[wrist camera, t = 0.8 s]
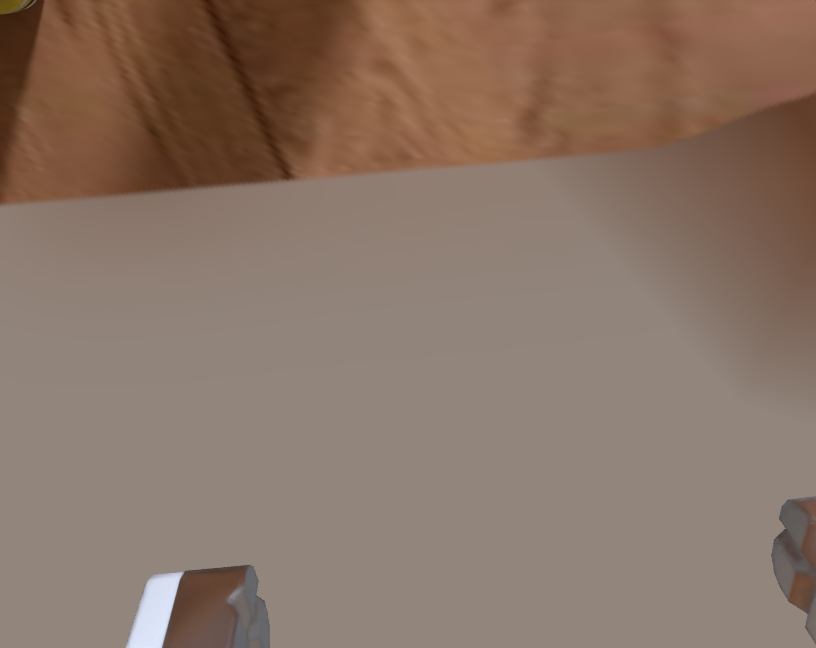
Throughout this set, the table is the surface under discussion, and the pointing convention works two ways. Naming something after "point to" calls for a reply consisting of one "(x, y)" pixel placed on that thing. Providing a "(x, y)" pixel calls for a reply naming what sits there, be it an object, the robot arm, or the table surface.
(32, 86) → the table surface
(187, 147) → the table surface
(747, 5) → the table surface
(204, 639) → the robot arm
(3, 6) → the pill bottle
